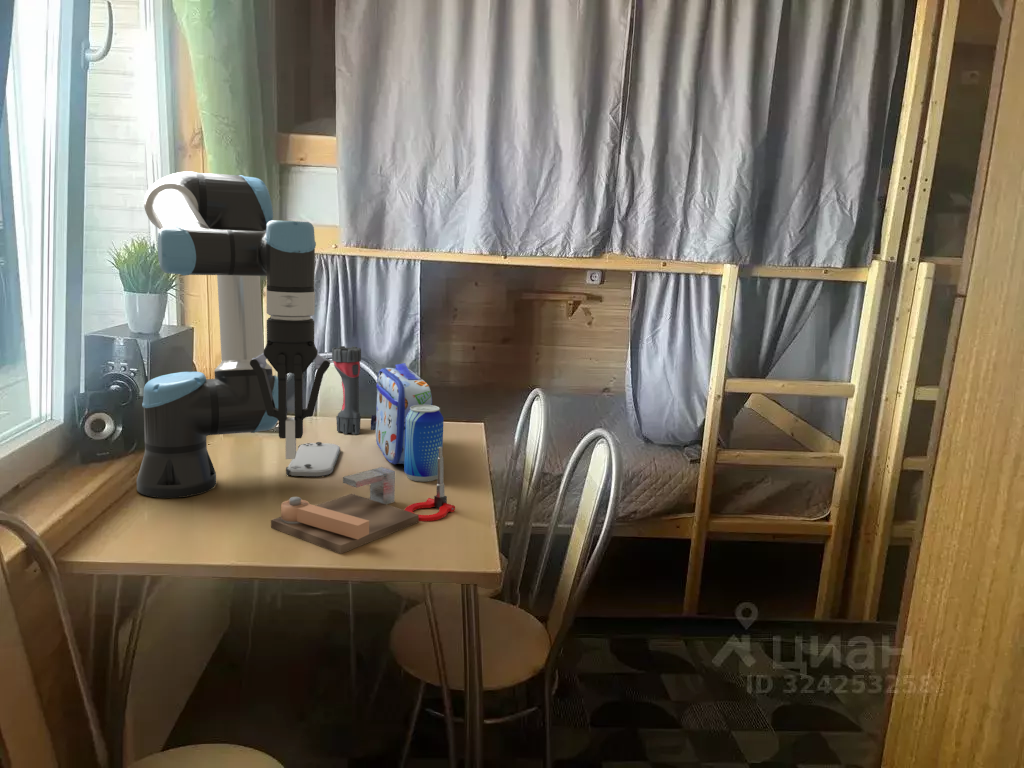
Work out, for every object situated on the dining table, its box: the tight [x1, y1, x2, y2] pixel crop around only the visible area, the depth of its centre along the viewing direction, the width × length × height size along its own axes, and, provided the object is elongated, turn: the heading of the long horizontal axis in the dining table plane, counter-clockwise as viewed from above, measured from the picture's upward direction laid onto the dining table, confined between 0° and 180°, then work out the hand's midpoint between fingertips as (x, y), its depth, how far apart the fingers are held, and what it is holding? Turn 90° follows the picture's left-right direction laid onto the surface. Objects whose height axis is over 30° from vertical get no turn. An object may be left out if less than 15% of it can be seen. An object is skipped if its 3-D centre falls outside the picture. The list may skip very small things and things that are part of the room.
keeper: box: [342, 466, 396, 505], centre depth 157 cm, size 10×4×6 cm, turn 141°
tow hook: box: [404, 447, 456, 522], centre depth 154 cm, size 8×13×9 cm
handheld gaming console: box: [285, 441, 341, 478], centre depth 184 cm, size 23×3×10 cm
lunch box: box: [370, 362, 433, 465], centre depth 192 cm, size 28×10×22 cm, turn 22°
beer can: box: [403, 404, 445, 483], centre depth 176 cm, size 8×8×16 cm
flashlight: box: [331, 345, 362, 435], centre depth 211 cm, size 8×8×23 cm
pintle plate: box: [270, 493, 420, 555], centre depth 147 cm, size 18×20×2 cm
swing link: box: [280, 496, 369, 539], centre depth 141 cm, size 18×5×4 cm, turn 61°
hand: (290, 456), depth 133 cm, fingers closed
